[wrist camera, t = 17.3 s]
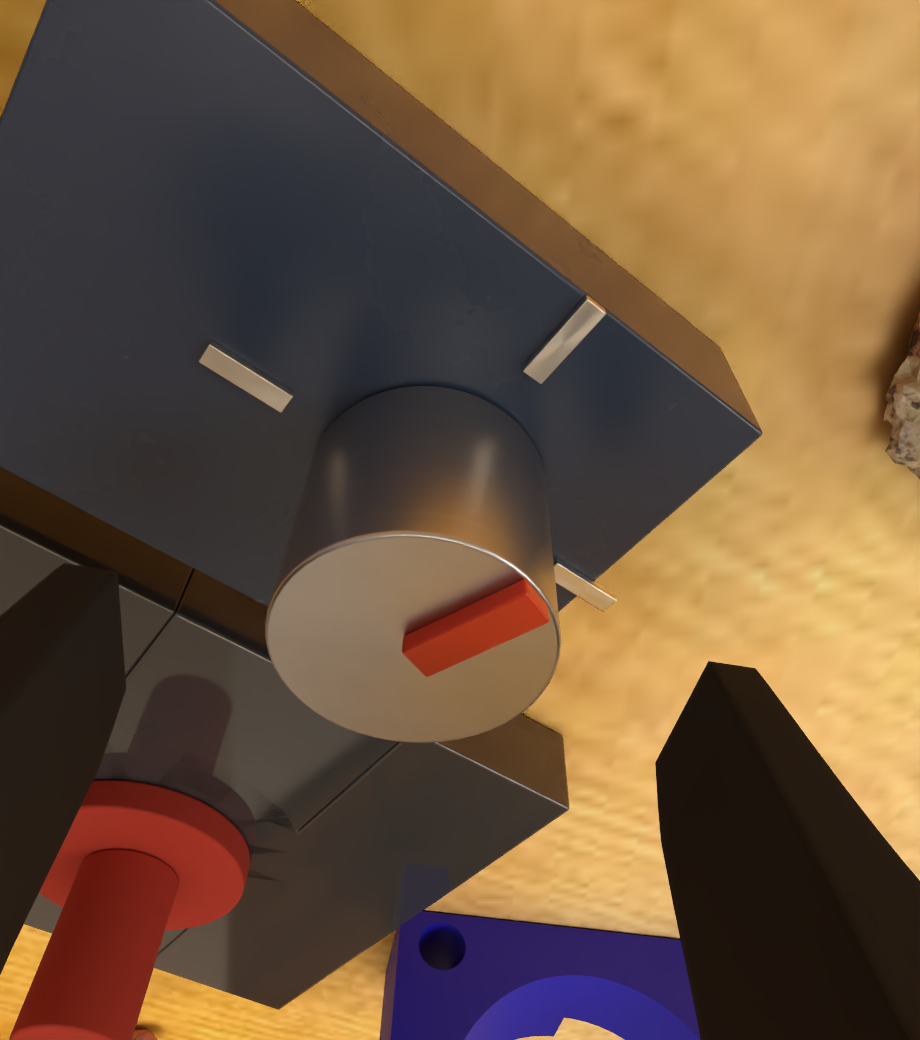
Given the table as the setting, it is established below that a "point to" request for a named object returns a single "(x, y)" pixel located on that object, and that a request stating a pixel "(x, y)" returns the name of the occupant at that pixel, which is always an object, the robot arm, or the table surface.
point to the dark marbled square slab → (279, 768)
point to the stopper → (126, 904)
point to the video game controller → (143, 1035)
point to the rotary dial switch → (306, 293)
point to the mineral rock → (906, 408)
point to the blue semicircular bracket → (531, 981)
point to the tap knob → (418, 571)
